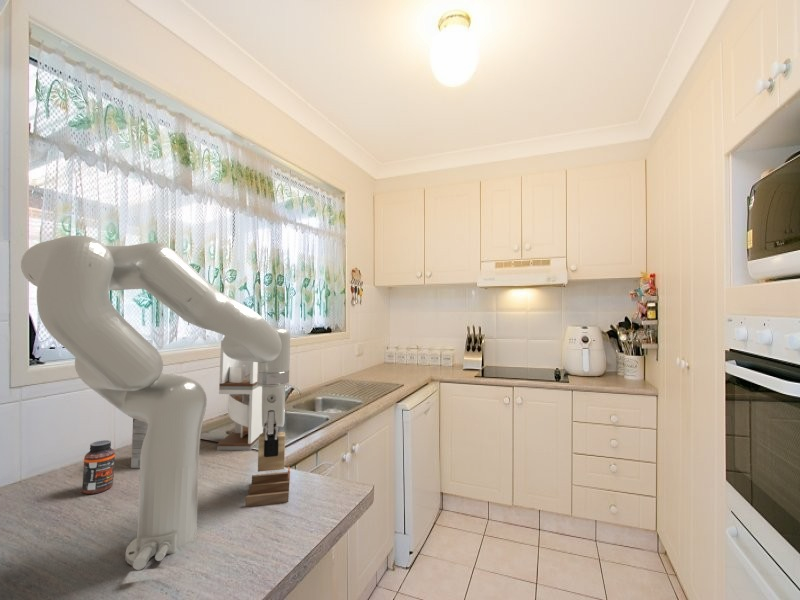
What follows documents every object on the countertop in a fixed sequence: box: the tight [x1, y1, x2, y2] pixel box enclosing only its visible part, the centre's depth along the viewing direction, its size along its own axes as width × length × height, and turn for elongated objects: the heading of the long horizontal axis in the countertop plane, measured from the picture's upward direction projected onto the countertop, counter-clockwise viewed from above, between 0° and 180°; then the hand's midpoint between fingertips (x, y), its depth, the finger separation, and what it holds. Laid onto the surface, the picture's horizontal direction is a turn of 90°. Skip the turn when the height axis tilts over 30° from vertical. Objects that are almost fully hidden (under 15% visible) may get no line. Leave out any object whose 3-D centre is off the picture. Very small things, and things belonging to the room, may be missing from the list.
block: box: [257, 431, 286, 473], centre depth 90 cm, size 3×6×8 cm, turn 105°
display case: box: [216, 339, 264, 451], centre depth 123 cm, size 11×11×35 cm
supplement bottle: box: [81, 439, 116, 495], centre depth 90 cm, size 6×6×11 cm
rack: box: [245, 466, 291, 508], centre depth 87 cm, size 11×9×6 cm
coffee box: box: [130, 418, 148, 469], centre depth 107 cm, size 9×6×16 cm
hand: (271, 452), depth 90 cm, fingers closed on block, 3 cm apart
